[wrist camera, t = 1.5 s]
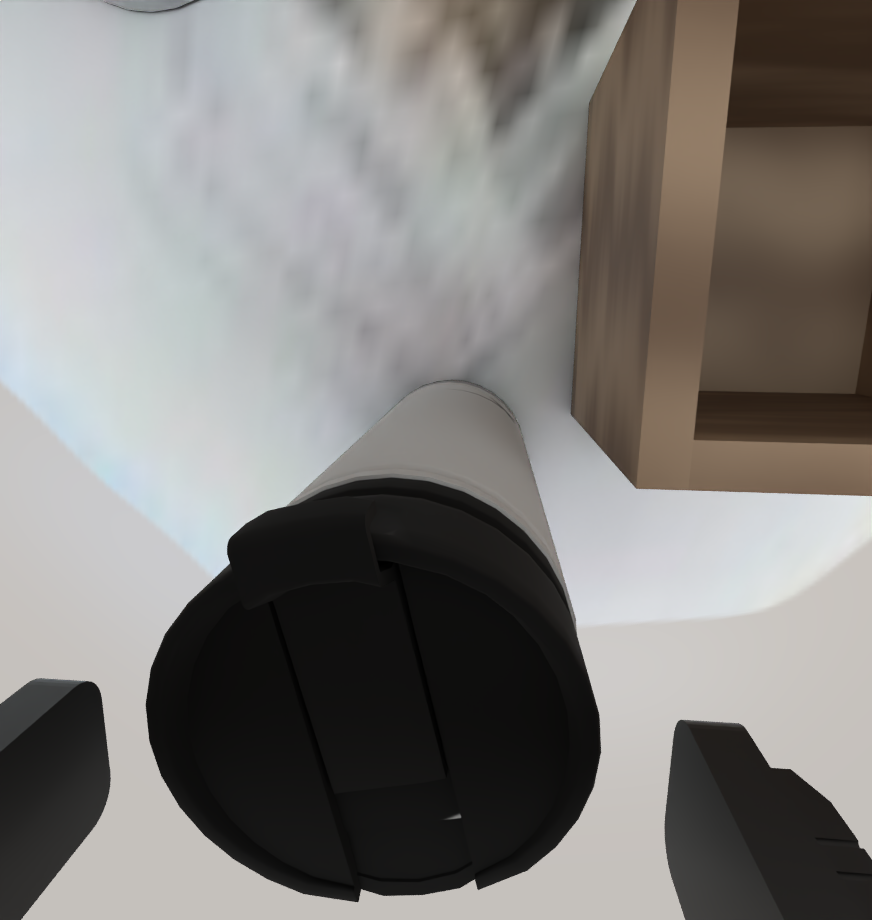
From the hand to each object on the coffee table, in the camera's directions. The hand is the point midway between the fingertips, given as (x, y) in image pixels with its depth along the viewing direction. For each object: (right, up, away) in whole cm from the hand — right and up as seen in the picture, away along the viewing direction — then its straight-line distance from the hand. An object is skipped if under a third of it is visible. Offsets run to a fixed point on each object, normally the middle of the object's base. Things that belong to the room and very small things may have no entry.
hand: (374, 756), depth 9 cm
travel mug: (+2, +5, +19) cm, 19 cm away
